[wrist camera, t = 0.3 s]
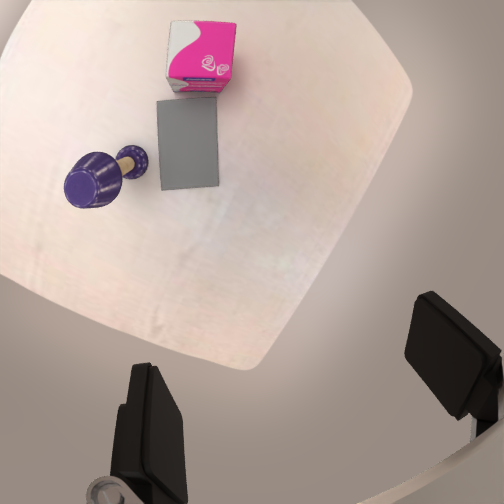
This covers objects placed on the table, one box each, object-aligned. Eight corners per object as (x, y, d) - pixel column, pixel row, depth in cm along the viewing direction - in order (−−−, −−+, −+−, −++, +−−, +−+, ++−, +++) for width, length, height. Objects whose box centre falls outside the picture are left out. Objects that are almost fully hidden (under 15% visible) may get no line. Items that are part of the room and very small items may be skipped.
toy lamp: (128, 189, 35) (84, 232, 20) (103, 163, 33) (43, 190, 18) (155, 161, 34) (125, 185, 19) (130, 135, 32) (81, 140, 17)
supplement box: (172, 94, 31) (162, 77, 21) (176, 49, 29) (169, 17, 19) (220, 95, 32) (232, 79, 22) (224, 50, 30) (237, 19, 20)
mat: (157, 101, 31) (156, 101, 31) (215, 97, 32) (215, 96, 32) (162, 189, 36) (161, 190, 35) (218, 185, 37) (218, 186, 36)
